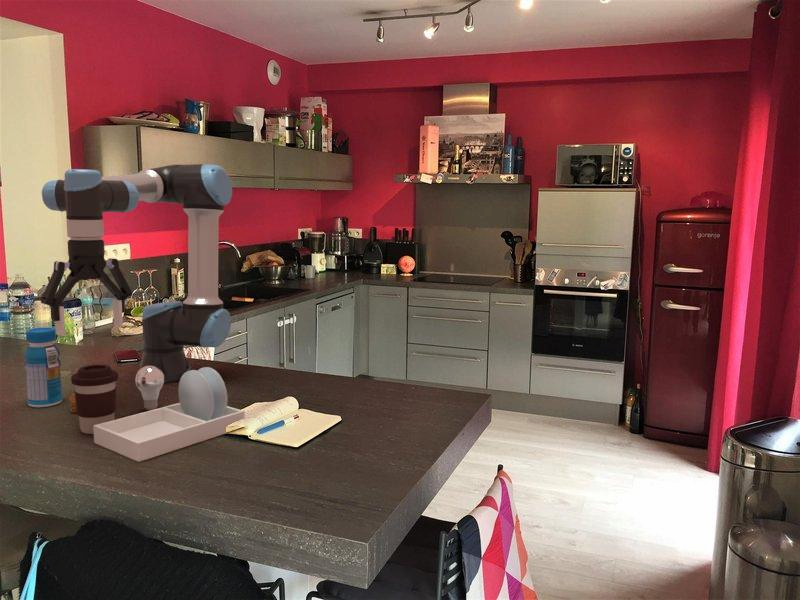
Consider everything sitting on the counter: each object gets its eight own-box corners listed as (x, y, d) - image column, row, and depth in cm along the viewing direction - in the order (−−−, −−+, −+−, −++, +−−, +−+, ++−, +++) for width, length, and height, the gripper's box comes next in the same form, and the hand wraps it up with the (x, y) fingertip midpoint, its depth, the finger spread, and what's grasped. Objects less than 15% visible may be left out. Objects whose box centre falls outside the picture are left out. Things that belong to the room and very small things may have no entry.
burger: (107, 413, 167) (106, 395, 167) (67, 416, 164) (65, 398, 164) (110, 402, 176) (110, 385, 176) (72, 405, 173) (71, 388, 173)
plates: (194, 413, 164) (193, 363, 163) (228, 424, 157) (226, 371, 155) (179, 418, 161) (177, 366, 159) (212, 429, 153) (211, 375, 151)
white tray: (199, 412, 168) (199, 397, 168) (244, 427, 158) (244, 411, 157) (94, 442, 146) (93, 425, 146) (138, 461, 136) (138, 443, 135)
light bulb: (171, 408, 171) (169, 363, 170) (153, 416, 165) (151, 370, 163) (149, 405, 174) (147, 361, 172) (130, 413, 167) (128, 367, 165)
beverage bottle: (26, 409, 168) (21, 333, 165) (27, 401, 176) (22, 327, 173) (63, 405, 172) (58, 331, 169) (62, 397, 180) (58, 325, 177)
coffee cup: (129, 426, 157) (127, 365, 155) (95, 439, 148) (91, 375, 146) (100, 420, 161) (97, 361, 159) (64, 432, 152) (60, 369, 150)
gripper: (128, 236, 160) (131, 321, 163) (19, 239, 141) (26, 336, 144) (145, 237, 156) (148, 325, 159) (36, 241, 136) (42, 341, 139)
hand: (90, 330), depth 151 cm, fingers open, 13 cm apart
